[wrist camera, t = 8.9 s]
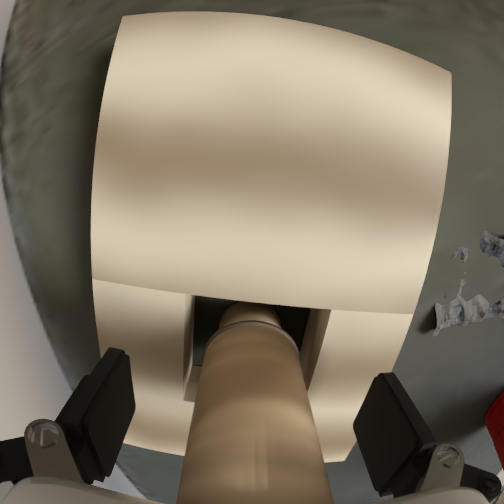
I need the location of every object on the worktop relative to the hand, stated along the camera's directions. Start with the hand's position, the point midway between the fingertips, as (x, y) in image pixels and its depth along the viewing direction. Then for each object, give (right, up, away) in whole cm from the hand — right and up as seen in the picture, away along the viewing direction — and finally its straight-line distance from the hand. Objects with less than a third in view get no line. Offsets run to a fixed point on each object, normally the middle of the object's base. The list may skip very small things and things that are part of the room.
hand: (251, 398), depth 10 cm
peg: (0, +1, +5) cm, 5 cm away
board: (0, +4, +4) cm, 6 cm away
